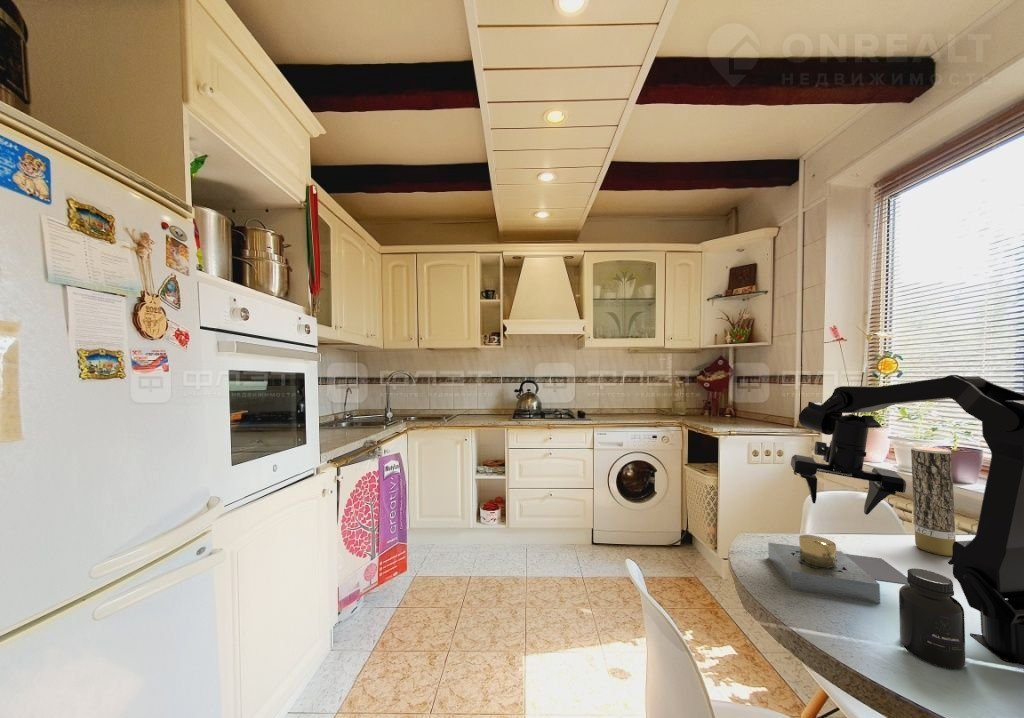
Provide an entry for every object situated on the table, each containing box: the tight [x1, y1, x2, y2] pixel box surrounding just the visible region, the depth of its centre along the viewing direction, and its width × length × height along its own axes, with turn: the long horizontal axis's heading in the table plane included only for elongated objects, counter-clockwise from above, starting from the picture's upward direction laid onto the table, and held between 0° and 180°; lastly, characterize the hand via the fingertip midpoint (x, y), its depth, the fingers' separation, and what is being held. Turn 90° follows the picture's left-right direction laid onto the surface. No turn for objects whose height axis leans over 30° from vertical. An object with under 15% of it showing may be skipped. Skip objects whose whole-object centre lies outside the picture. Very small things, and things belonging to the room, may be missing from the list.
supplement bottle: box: [898, 567, 966, 671], centre depth 59 cm, size 7×7×12 cm
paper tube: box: [910, 446, 957, 557], centre depth 94 cm, size 7×7×25 cm
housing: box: [767, 542, 881, 605], centre depth 80 cm, size 14×14×4 cm
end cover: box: [798, 534, 837, 568], centre depth 80 cm, size 6×6×8 cm
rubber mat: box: [844, 553, 909, 585], centre depth 84 cm, size 12×10×1 cm
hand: (838, 508), depth 86 cm, fingers open, 9 cm apart
